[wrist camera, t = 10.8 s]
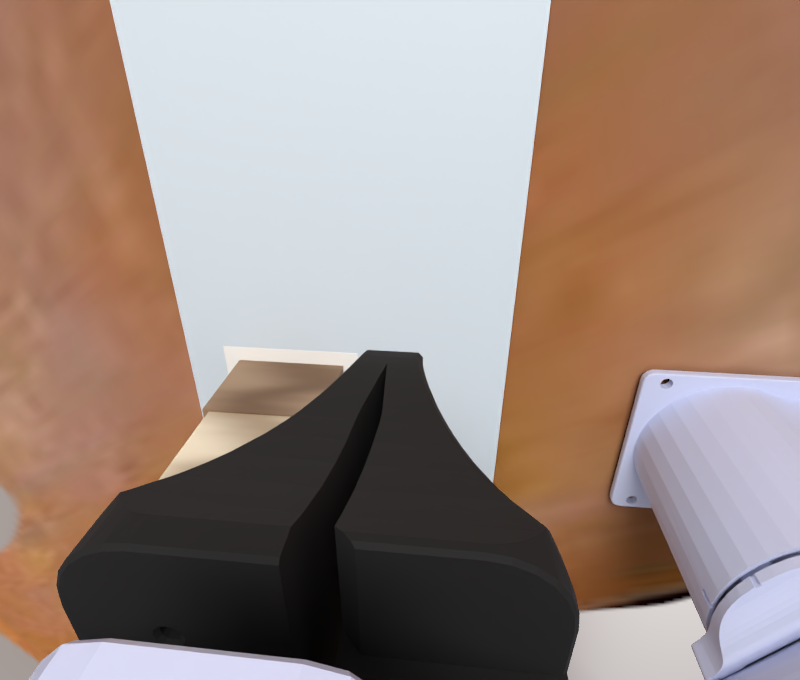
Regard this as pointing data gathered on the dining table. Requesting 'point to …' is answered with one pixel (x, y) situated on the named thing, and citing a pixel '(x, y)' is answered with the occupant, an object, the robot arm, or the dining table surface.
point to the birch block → (220, 438)
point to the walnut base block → (271, 387)
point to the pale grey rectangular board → (343, 182)
